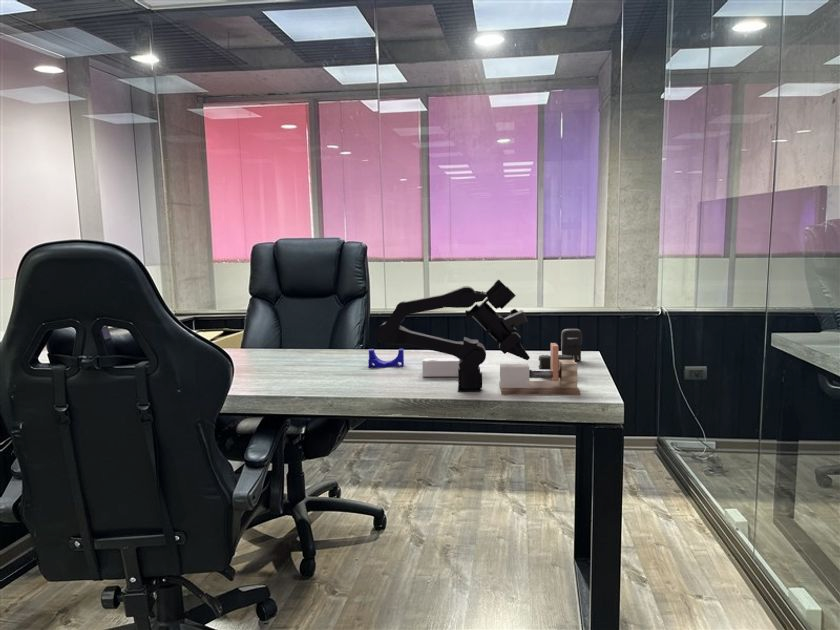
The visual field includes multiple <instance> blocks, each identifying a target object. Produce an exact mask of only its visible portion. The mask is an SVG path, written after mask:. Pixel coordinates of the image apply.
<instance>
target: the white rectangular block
mask: <svg viewBox="0 0 840 630" xmlns="http://www.w3.org/2000/svg"><path fill="white" fill-rule="evenodd" d="M529 370H530V366H529V363H499V387H500V386H501V388H529V381H530V378H529Z"/></svg>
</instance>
